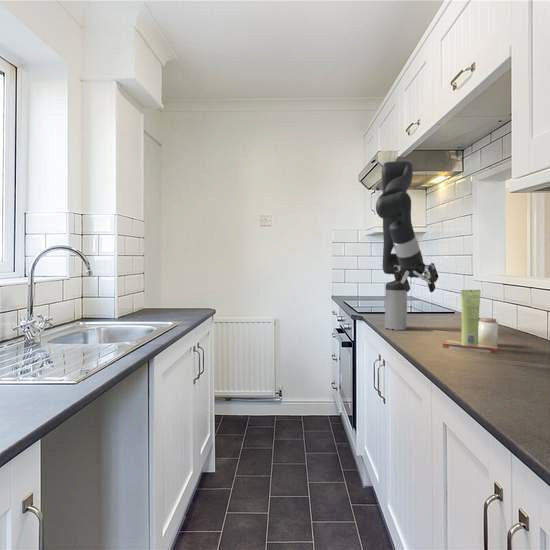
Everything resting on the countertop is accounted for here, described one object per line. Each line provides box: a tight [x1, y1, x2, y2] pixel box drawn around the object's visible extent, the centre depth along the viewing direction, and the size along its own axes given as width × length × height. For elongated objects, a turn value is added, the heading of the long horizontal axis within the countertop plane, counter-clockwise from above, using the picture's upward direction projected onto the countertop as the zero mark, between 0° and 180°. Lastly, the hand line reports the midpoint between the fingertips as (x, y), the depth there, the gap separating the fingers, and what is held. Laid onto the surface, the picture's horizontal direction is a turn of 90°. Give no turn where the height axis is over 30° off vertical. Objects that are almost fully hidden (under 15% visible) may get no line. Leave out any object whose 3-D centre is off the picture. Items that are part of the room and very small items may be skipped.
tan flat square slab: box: [442, 339, 499, 354], centre depth 131 cm, size 15×16×2 cm
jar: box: [478, 317, 499, 347], centre depth 133 cm, size 6×6×9 cm
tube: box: [460, 289, 481, 347], centre depth 129 cm, size 6×5×20 cm
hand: (420, 290), depth 132 cm, fingers open, 8 cm apart
